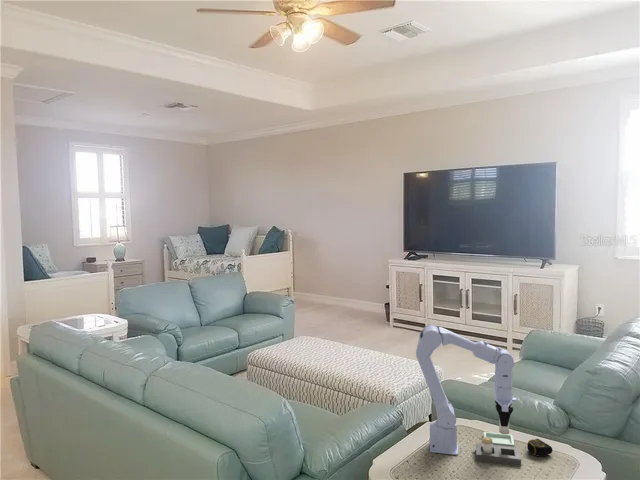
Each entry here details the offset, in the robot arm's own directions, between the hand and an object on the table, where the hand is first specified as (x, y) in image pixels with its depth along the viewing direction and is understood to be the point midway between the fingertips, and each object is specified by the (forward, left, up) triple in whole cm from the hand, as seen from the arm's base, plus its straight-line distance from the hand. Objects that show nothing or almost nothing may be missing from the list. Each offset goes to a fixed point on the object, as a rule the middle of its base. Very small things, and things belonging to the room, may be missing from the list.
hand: (504, 423), depth 167 cm
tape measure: (+12, +2, -11) cm, 16 cm away
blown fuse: (0, 0, -3) cm, 3 cm away
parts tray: (-1, +7, -10) cm, 12 cm away
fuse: (-6, -4, -10) cm, 12 cm away
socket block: (-2, -4, -10) cm, 11 cm away
